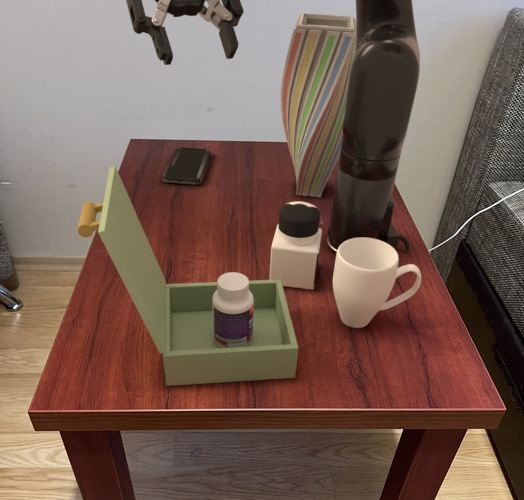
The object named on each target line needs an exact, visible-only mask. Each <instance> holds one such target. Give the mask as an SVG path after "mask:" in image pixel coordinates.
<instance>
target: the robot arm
mask: <svg viewBox="0 0 524 500" xmlns="http://www.w3.org/2000/svg"><path fill="white" fill-rule="evenodd" d="M154 1H155V2H156V3H157V5H156V8H155V9H154V12H153V15H152V17H151V16H147V15H146V11H145V8H144V4H143V0H125V2H126V5H127V9H128V14H129V17H130V23H131V26H132V30H133V32H134V33H135V34H137V35H140V34H142V33H144V34H146V35H149V36H150V39H151V41H152V44H153V47H154V49H155V50H154V51H155V53H156V56H157V58H158V60H159V61H161V62H163V65H164V66H169V65H172V61H173V60H174V53H173V49H172V46H171V43H170V39H169V35H168V33H167V30H166V27H165V26H164V23H165V21H166V18H167V16H168V14H170V15H172V16H173V18H180V17H183V16H189V17H196V16H198V15H199V16H200V17H201V18H202V19H203V20H204V21H206V22H207V23H209V22H210V23H211V24H212V25H213V26H214V27H216V29H218V31H219V32H218V36H219V38H220V42H221V45H222V46H221V47H222V49H223V52H224V55H225V58H226V59H228V60H231V59H234V57H235V55H236V53H237V50H238V48H239V41H238V37H237V34H236V30H235V28H234V27H238V25H239V22H240V20H241V18H242V16H243V14H244V10H245V9H244V7H243V5H242V2H241V0H154ZM205 2H207V4H208V7H207V6H206V5H205ZM355 16H356V18H355V19H356V26H357V37H356V54H355V57H354V60H353V62H352V66H351V70H350V76H349V82H348V90H347V97H346V105H345V113H344V121H343V129H342V143H341V150H340V155H339V158H338V164H337V171H336V179H335V185H334V186H335V187H334V193H333V200H332V208H331V215H330V221H329V226H328V230H327V234H326V235H327V236H326V237H327V239H326V244H327V247H328V249H329V251H331V252H332V253H333V254H335V255H336V254H337V250H338V248H339V246H340V245H341V244H342V243H343V242H345V241H347V240H349V239H353V238H361V237H364V238H373V239H377V240H380V241H383V242H385V243H387V244H389V245H390V246H392V247H393V248H394V249H395V250H396V249H397V247H398V244H399V241H401V242H402V243H403V244H404V247H405V251H406V252H409V251H410V250H411V246H410V242H409V240H408V239H407V238H406V237H404V236H403V235H402V234H399V233H398V231H397V230H396V228H395V227H394V225H393V223H392V218H393V214H394V210H395V201H394V199H393V197H392V196H393V192H394V187H395V183H396V178H397V174H398V168H399V164H400V161H401V155H402V151H403V147H404V143H405V140H406V137H407V133H408V129H409V124H410V120H411V115H412V113H413V112H412V111H413V107H414V101H415V98H416V95H417V94H416V93H417V90H418V85H419V80H420V73H421V72H420V71H421V53H420V46H419V42H418V39H417V38H418V37H417V30H416V24H415V23H416V22H415V14H414V6H413V0H355Z"/></svg>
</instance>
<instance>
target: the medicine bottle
mask: <svg viewBox="0 0 524 500" xmlns="http://www.w3.org/2000/svg"><path fill="white" fill-rule="evenodd" d="M278 213H279V214H278V224H277V225H276V228H275V231H274V232H275V233H274V236H273V239H272V243H271V247H270V261H269V262H270V263H269V279H268V280H277V279H281V282H282V286H283V287H286V288H287V287H288V288H294V289H303V290H310V291H312V290H314V289H315V285H316V278H317V274H318V273H317V272H318V265H319V257H320V250H321V242H322V236H323V235H322V234H323V229H322V228H321V227H319V226H320V218H321V212H320V209H319V208H318V207H317V206H316V205H314V204H312V203H309V202H306V201H290V202H287V203H285V204H283V205H282V206H281V207H280V208H279V212H278Z"/></svg>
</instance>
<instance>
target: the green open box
mask: <svg viewBox="0 0 524 500" xmlns="http://www.w3.org/2000/svg"><path fill="white" fill-rule="evenodd" d="M216 290H217V281H209V282H208V281H207V282H186V283H185V282H184V283H166V324H165V353H162V359H163V369H164V376H165V385H166V387H170V386H171V387H172V386H186V385H203V384H204V385H205V384H218V383H219V384H220V383H233V382H248V381H249V382H250V381H264V380H280V379H295V378H296V373H297V364H298V356H299V344H298V341H297V337H296V333H295V329H294V325H293V321H292V318H291V313H290V310H289V306H288V301H287V298H286V294H285V291H284V286H282V282H281V279H277V280H269V279H257V280H249V291H250V292H251V293H252V295H253V298H254V308H253V336H252V341H251V343H250V344H249V345H248V346H247V347H236V348H221V347H219V346H218V345H217V344H216V343H215V341H214V337H213V312H212V297H213V294H214V293H215V291H216Z"/></svg>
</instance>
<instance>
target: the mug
mask: <svg viewBox="0 0 524 500" xmlns="http://www.w3.org/2000/svg"><path fill="white" fill-rule="evenodd" d="M399 261H400V258H399V254H398V252H397V250H396V249H394V248H393V247H392V246H390V245H389V244H387V243H385V242H383V241H380V240H377V239H373V238H364V237H361V238H353V239H349V240H347V241H345V242H343V243H342V244H341V245H340V246H339V248H338V250H337V254H335V261H334V268H333V275H332V291H333V295H334V299H335V303H336V307H337V311H338V314H339V318H340V321H341V322H342V323H343V324H344V325H346V326H347V327H350V328H354V329H361V328H364V327H366V326H368V324H369V323H370V322H371V321H372V320H373V318H374V317H375V316H376V315H377V313H378V312H380V311H386V310H388V309H390V308H393V307H395V306H397V305H399V304H401V303H403V302H405V301H407V300H408V299H410V298H411V297H413V296H414V295H415V294H416V293H417V292H418V290H419V288H420V286H421V283H422V273H421V270H420V268H419V267H418V266H417V265H415V264H413V263H408V264H405V265H401V266H399ZM409 272H413V273H414V274H415V275H416V279H415V282H414V284H413V285H412V286H411V287H410V288H409V289H408V290H406V291H405V292H404V293H402V294H400V295H398V296H396V297H394V298H391V299H390V300H388V298H389V297H390V295H391V292H392V290H393V288H394V285H395V282H396V280H397V278H399V277H401V276H402V275H404V274H406V273H409Z"/></svg>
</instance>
